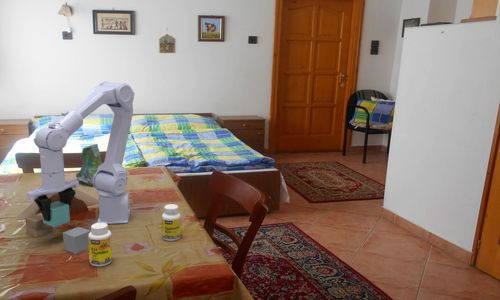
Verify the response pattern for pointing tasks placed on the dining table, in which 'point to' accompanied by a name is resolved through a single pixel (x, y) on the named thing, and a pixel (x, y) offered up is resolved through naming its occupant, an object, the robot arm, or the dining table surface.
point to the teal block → (58, 214)
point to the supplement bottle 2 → (171, 223)
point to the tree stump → (90, 164)
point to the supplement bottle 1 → (100, 245)
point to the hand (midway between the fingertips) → (56, 217)
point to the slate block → (76, 240)
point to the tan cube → (37, 226)
